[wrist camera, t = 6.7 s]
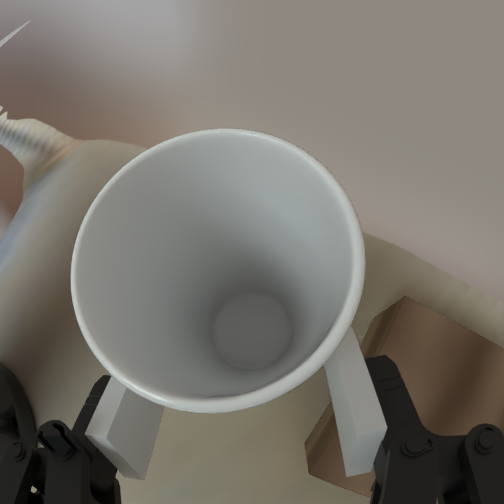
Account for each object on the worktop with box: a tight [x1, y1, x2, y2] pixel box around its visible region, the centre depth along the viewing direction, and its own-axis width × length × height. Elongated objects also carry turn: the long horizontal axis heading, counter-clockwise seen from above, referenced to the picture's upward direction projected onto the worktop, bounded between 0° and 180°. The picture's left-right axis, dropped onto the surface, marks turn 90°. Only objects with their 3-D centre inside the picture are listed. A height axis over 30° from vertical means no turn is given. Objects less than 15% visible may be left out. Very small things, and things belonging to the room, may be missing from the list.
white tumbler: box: [70, 128, 366, 413], centre depth 13 cm, size 7×7×15 cm
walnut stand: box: [305, 296, 504, 504], centre depth 17 cm, size 12×12×8 cm
